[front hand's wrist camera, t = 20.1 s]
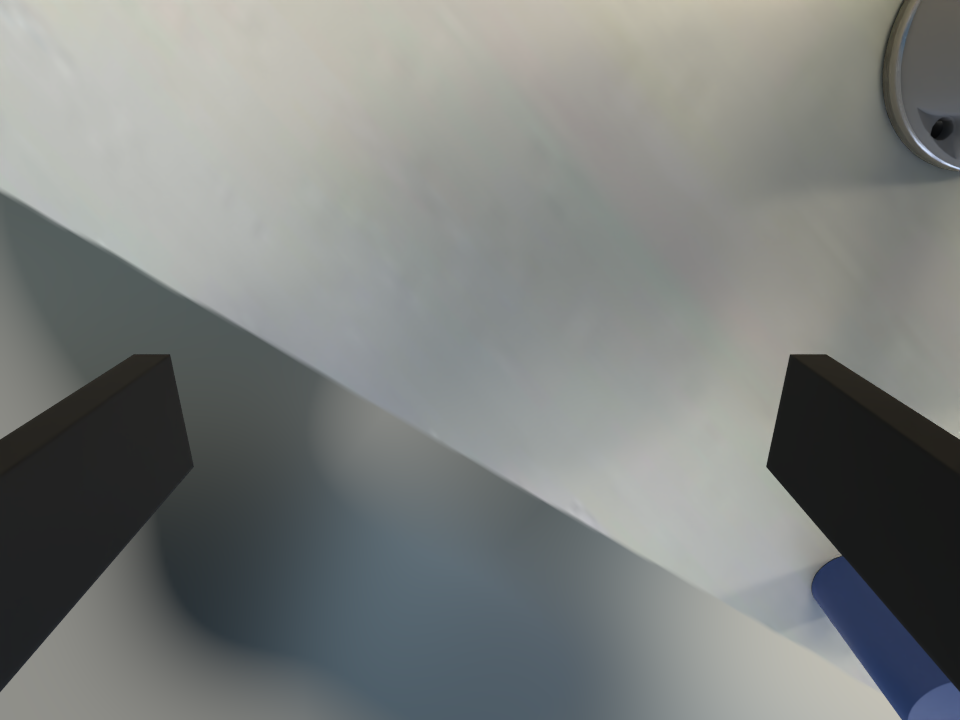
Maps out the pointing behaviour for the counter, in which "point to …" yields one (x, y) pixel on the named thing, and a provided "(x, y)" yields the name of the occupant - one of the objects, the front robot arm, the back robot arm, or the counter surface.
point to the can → (884, 646)
